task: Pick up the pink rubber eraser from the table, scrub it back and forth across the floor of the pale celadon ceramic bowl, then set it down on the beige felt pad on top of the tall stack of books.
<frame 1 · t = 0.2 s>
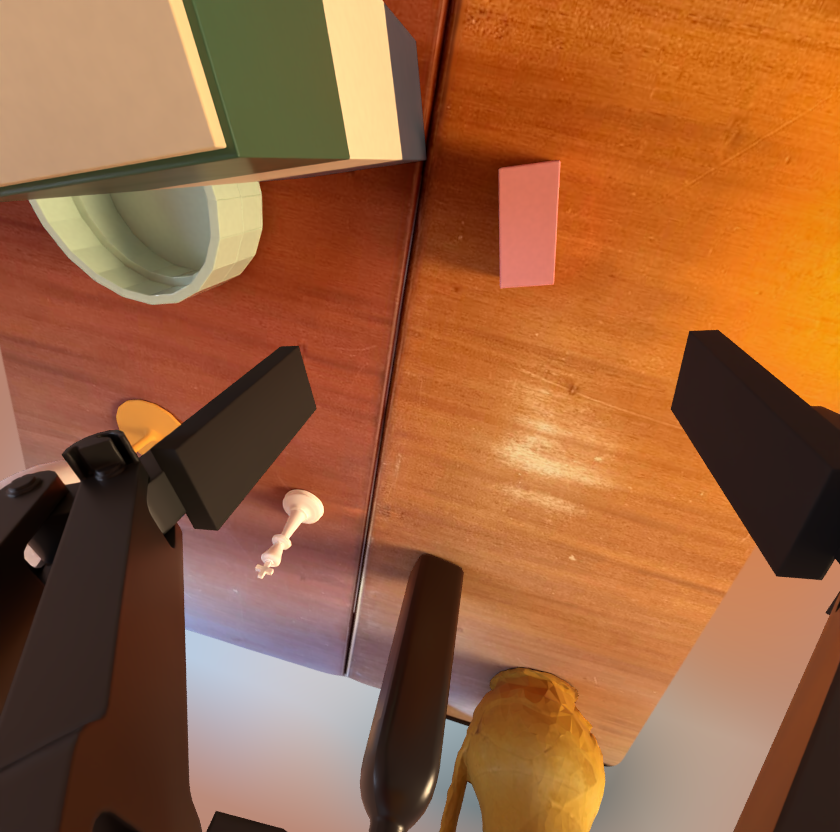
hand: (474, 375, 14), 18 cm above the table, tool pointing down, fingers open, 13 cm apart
eraser: (526, 223, 28), on the table
chess piece: (304, 503, 48), on the table
cup: (156, 432, 46), on the table
wine bottle: (436, 570, 49), on the table
bowl: (179, 188, 31), on the table
pitcher: (525, 686, 60), on the table
book stack: (354, 115, 26), on the table
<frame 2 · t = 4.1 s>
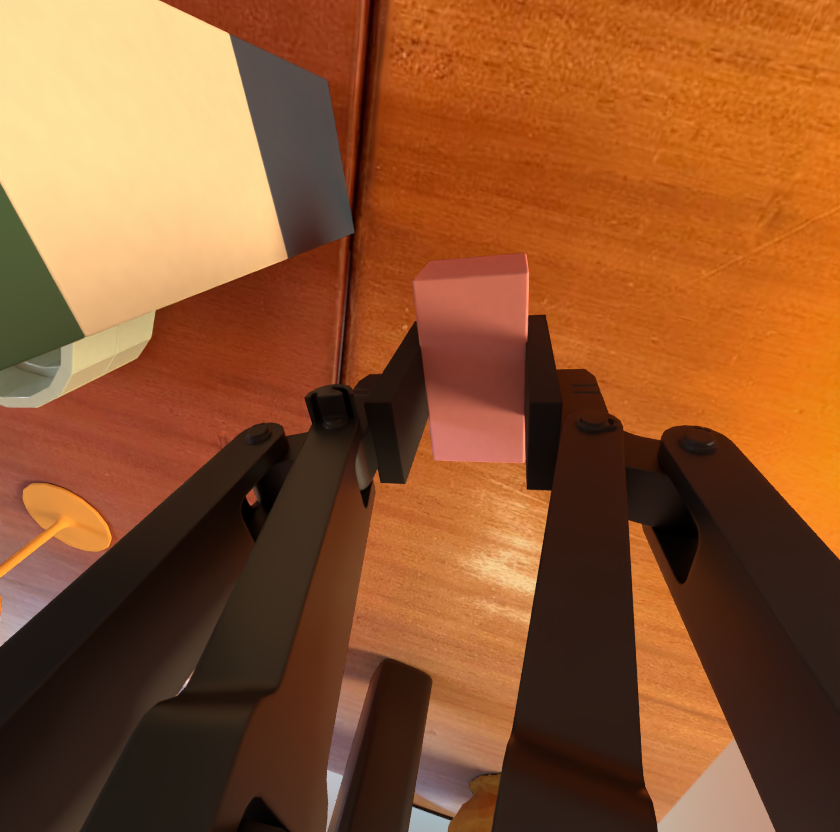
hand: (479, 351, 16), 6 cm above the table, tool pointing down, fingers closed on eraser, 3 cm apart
eraser: (479, 347, 16), point 5 cm above the table, touching gripper
cup: (70, 516, 39), on the table
wine bottle: (402, 674, 42), on the table
bowl: (51, 255, 24), on the table
pitcher: (509, 790, 52), on the table
book stack: (256, 175, 20), on the table
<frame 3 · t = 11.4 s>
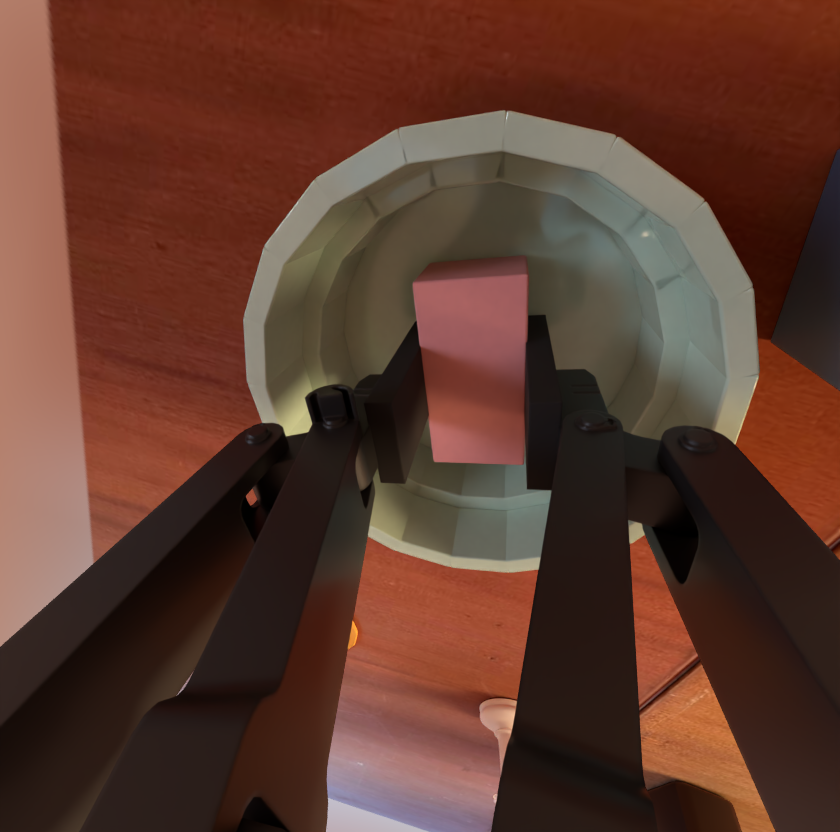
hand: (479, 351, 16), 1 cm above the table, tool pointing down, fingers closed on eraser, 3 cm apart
eraser: (480, 349, 16), point 1 cm above the table, touching gripper
chess piece: (509, 710, 34), on the table
wine bottle: (683, 793, 36), on the table
bowl: (482, 340, 17), on the table
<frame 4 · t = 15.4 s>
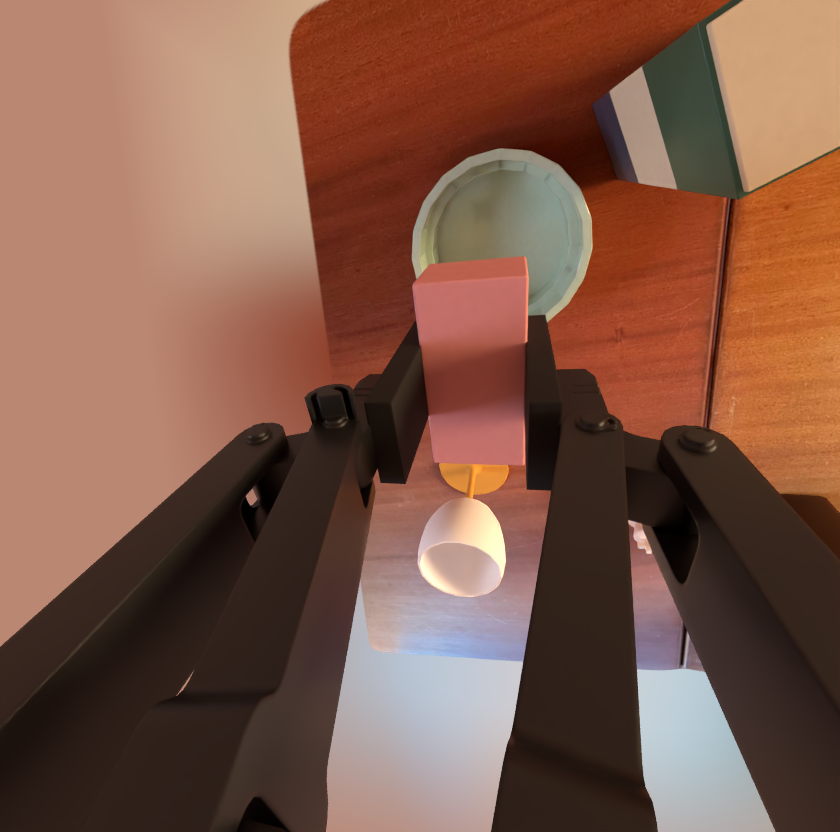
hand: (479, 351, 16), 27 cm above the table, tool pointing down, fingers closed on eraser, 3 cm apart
eraser: (480, 350, 16), point 26 cm above the table, touching gripper
chess piece: (626, 485, 50), on the table
cup: (473, 466, 53), on the table
wine bottle: (789, 510, 47), on the table
bowl: (500, 242, 38), on the table
book stack: (665, 105, 31), on the table
when the fingers open (23 cm above the table, at t = 18.8 s): eraser stays where it is, resting on felt pad.
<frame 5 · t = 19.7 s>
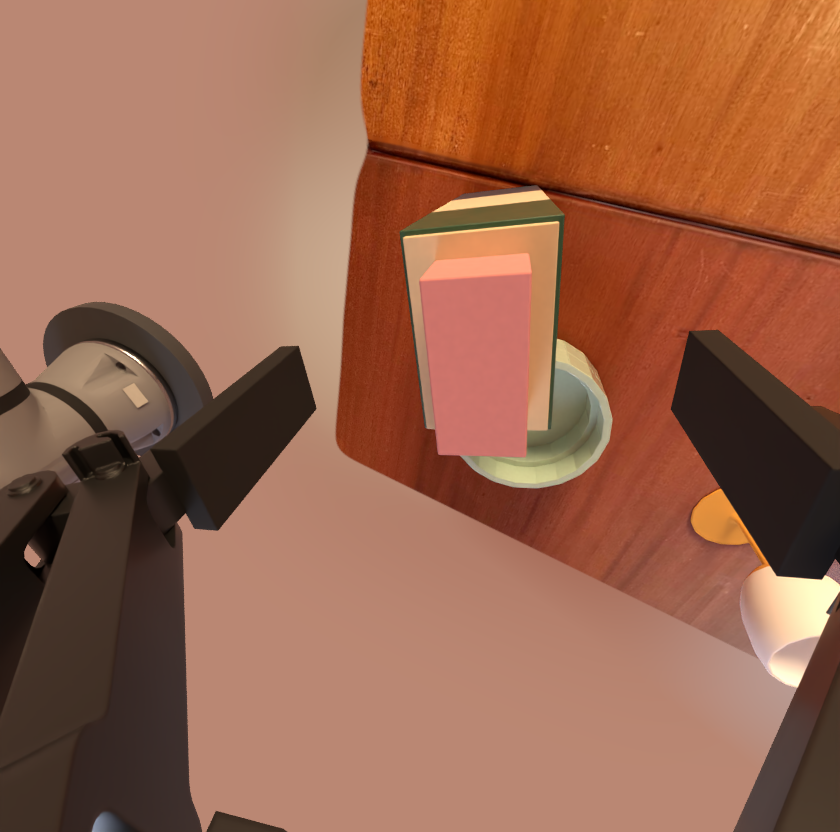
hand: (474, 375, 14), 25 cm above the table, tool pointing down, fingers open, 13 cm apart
eraser: (483, 345, 17), point 22 cm above the table, touching felt pad
felt pad: (482, 339, 17), resting on book stack
cup: (736, 513, 45), on the table
bowl: (525, 397, 42), on the table
book stack: (499, 248, 35), on the table
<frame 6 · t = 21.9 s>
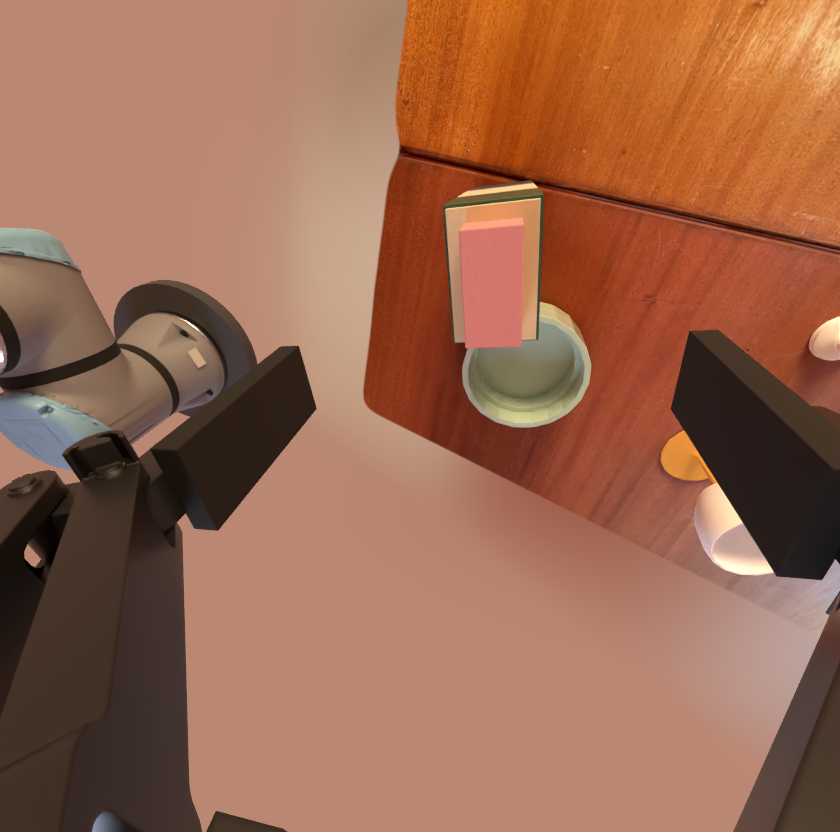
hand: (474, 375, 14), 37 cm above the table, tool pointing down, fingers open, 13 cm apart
eraser: (494, 279, 26), point 22 cm above the table, touching felt pad
chess piece: (835, 337, 44), on the table
felt pad: (493, 276, 26), resting on book stack
cup: (697, 452, 54), on the table
bowl: (523, 355, 52), on the table
book stack: (502, 230, 45), on the table
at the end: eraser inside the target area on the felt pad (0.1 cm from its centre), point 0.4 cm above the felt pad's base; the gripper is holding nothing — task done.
